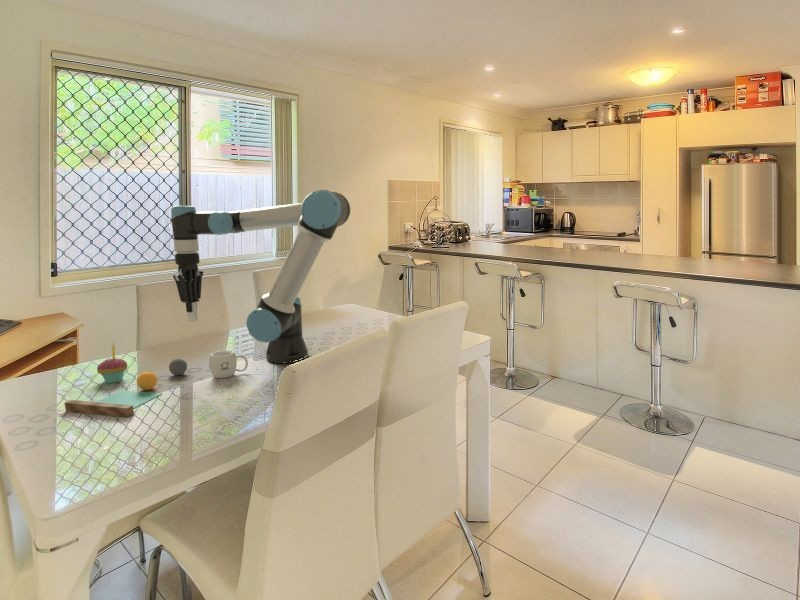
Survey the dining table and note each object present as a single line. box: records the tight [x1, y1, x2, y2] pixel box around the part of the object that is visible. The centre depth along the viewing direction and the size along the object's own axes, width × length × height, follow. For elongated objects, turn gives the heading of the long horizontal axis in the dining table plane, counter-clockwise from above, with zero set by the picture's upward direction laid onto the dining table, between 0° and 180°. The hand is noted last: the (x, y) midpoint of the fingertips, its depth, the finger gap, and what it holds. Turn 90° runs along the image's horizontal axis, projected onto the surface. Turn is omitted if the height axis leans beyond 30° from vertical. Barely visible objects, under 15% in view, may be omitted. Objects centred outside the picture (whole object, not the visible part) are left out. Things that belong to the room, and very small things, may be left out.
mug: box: [208, 349, 249, 379], centre depth 158 cm, size 12×8×8 cm
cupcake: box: [96, 342, 128, 384], centre depth 154 cm, size 9×8×12 cm
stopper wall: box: [64, 399, 135, 418], centre depth 129 cm, size 20×2×2 cm, turn 77°
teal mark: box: [96, 389, 163, 410], centre depth 137 cm, size 14×14×1 cm
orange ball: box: [136, 371, 158, 391], centre depth 146 cm, size 6×6×6 cm
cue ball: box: [168, 358, 188, 376], centre depth 160 cm, size 6×6×6 cm
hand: (192, 320), depth 166 cm, fingers closed
